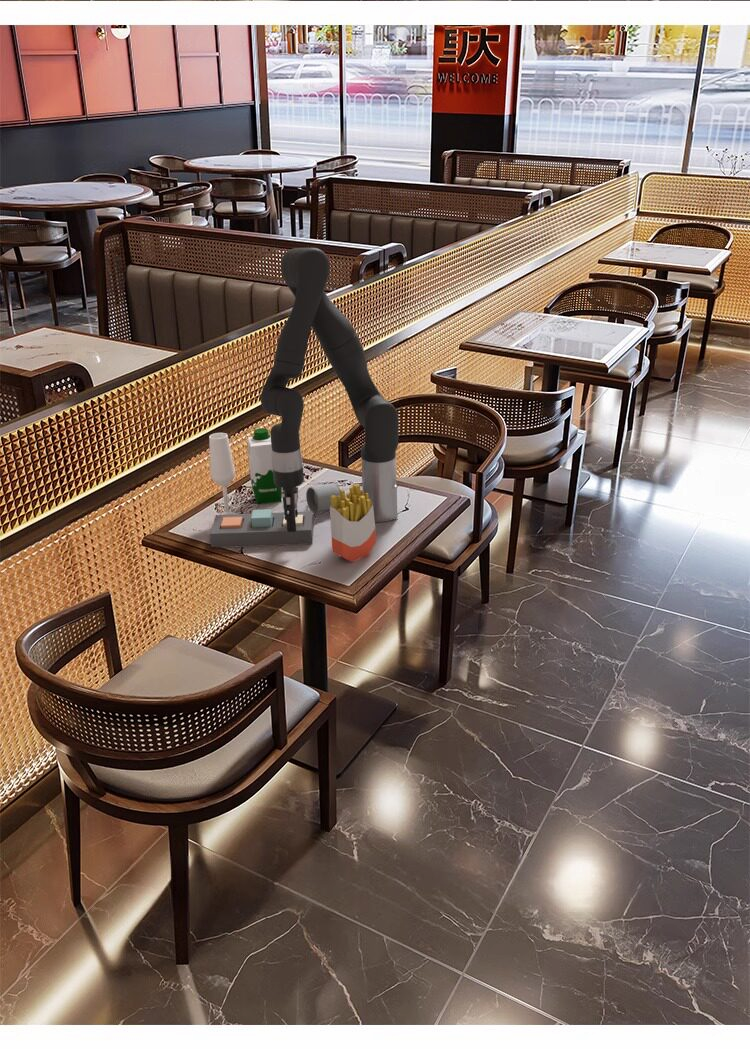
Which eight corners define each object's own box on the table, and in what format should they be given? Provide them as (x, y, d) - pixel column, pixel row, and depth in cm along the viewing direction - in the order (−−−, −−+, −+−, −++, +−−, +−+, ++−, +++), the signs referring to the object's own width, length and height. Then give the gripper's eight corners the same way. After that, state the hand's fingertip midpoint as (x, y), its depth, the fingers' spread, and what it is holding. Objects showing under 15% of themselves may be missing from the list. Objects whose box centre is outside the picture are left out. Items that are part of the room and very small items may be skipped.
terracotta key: (243, 528, 228) (242, 516, 227) (241, 536, 224) (240, 525, 222) (224, 528, 228) (223, 517, 227) (222, 537, 224) (220, 525, 222)
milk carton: (280, 490, 253) (275, 426, 244) (285, 503, 245) (279, 436, 236) (251, 494, 251) (244, 429, 242) (254, 506, 243) (247, 440, 234)
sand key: (303, 526, 228) (303, 514, 227) (302, 534, 224) (302, 522, 222) (285, 526, 228) (284, 515, 227) (283, 535, 224) (282, 523, 222)
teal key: (273, 520, 227) (272, 509, 226) (271, 529, 223) (270, 517, 221) (254, 521, 227) (253, 509, 226) (252, 530, 223) (251, 518, 221)
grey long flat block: (314, 524, 232) (313, 511, 230) (312, 543, 222) (311, 529, 220) (217, 528, 231) (215, 514, 230) (211, 547, 221) (209, 533, 220)
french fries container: (377, 551, 217) (375, 486, 209) (344, 566, 210) (341, 499, 202) (364, 545, 220) (362, 480, 212) (332, 560, 213) (328, 494, 205)
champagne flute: (216, 513, 240) (206, 432, 229) (240, 511, 240) (231, 430, 230) (214, 524, 234) (204, 441, 223) (239, 522, 234) (230, 439, 224)
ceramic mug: (344, 510, 239) (343, 485, 236) (319, 518, 235) (317, 492, 232) (326, 498, 247) (324, 473, 244) (300, 505, 243) (298, 480, 240)
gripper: (301, 475, 206) (306, 535, 214) (303, 453, 219) (308, 511, 226) (270, 477, 206) (276, 537, 213) (274, 455, 219) (279, 512, 226)
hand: (292, 523), depth 220 cm, fingers open, 8 cm apart
